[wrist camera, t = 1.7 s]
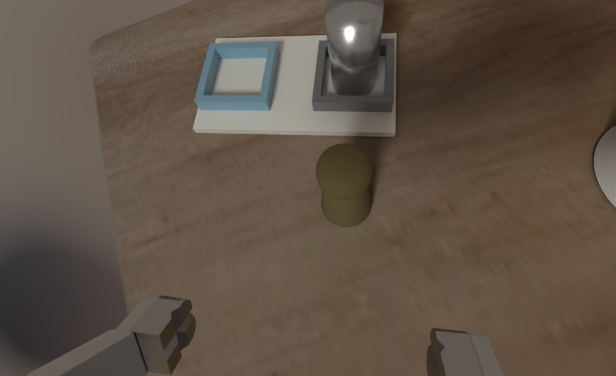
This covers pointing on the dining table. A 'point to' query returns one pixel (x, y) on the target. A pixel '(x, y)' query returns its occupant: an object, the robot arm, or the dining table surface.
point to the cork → (345, 184)
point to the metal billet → (354, 44)
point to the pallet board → (290, 90)
